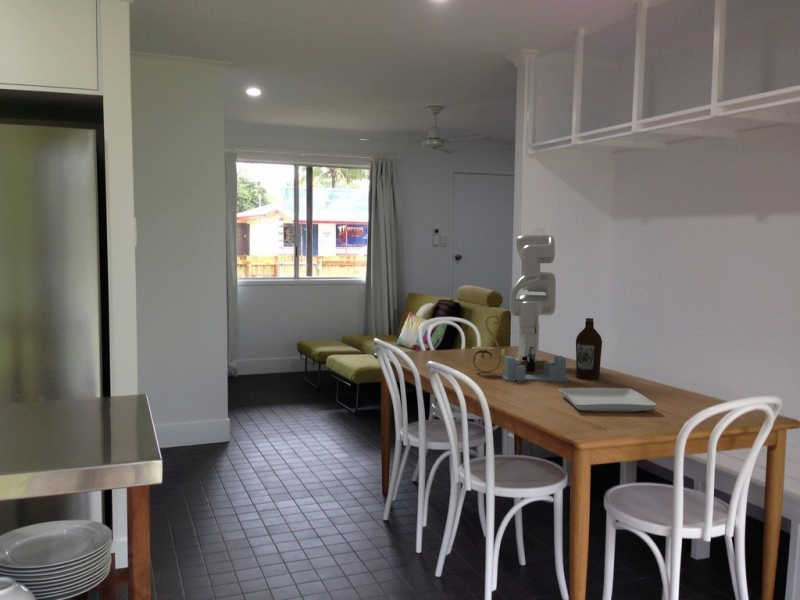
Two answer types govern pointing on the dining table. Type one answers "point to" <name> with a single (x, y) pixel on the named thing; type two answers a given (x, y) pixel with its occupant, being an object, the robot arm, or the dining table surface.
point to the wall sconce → (486, 349)
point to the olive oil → (588, 352)
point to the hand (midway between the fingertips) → (528, 369)
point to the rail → (538, 366)
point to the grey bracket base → (551, 373)
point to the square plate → (607, 399)
